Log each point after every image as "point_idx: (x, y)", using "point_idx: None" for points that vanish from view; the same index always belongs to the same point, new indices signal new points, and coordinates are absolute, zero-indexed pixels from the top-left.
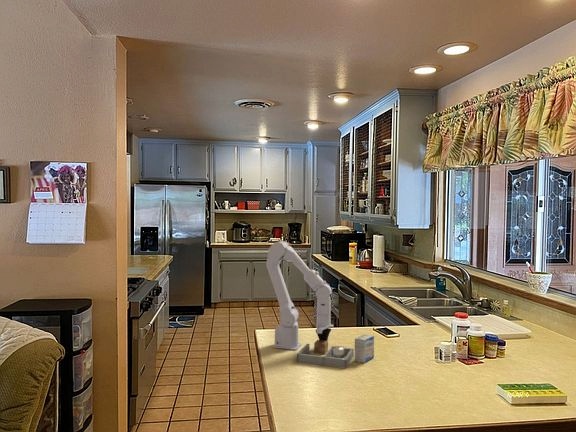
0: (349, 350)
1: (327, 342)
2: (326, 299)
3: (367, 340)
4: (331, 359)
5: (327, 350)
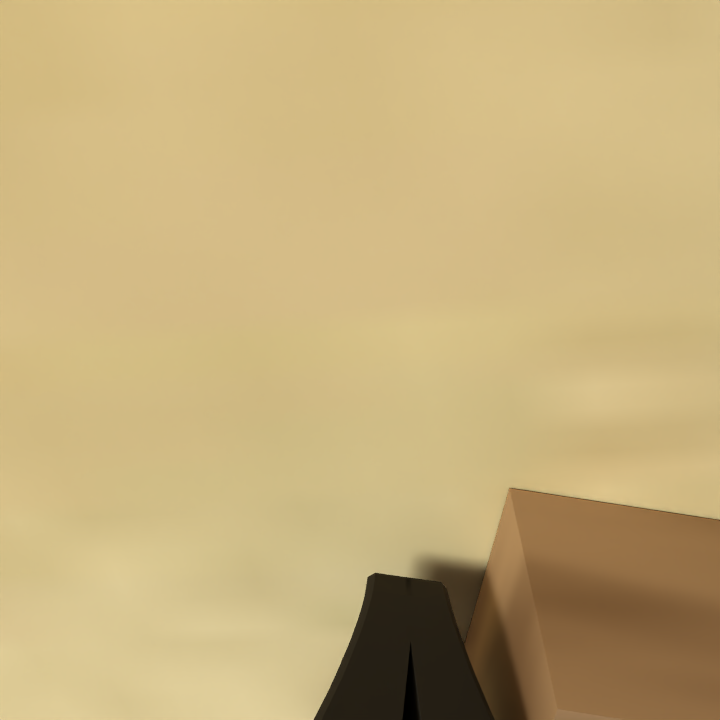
0: None
1: (625, 692)
2: None
3: None
4: None
5: (556, 508)
